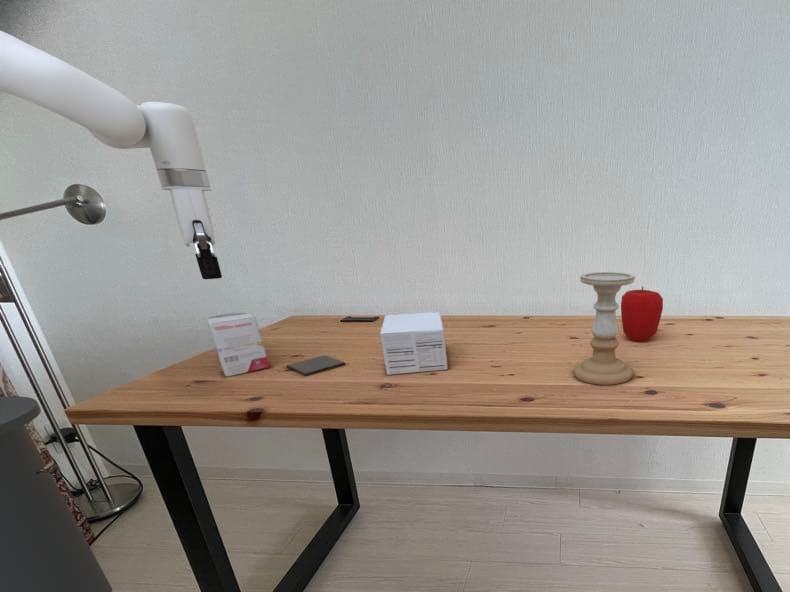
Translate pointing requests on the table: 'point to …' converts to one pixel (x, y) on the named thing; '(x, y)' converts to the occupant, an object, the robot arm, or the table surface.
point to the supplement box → (413, 343)
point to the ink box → (238, 344)
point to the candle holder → (605, 332)
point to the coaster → (315, 365)
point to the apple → (641, 314)
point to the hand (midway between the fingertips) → (211, 275)
